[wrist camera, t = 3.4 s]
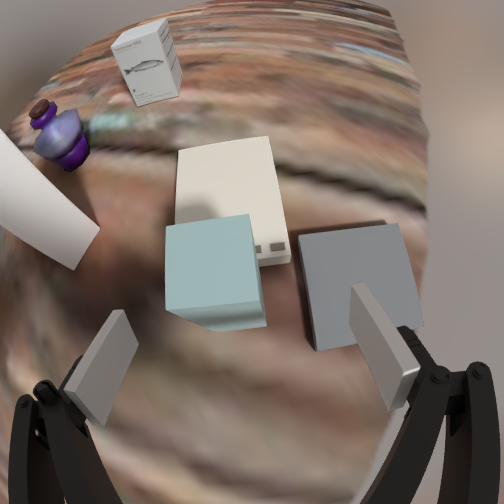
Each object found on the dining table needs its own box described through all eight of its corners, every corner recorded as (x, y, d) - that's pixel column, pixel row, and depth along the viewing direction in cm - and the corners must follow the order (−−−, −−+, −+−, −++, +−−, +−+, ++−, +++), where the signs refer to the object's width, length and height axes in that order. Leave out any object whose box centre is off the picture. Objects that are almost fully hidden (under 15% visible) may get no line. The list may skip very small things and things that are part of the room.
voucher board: (290, 262, 24) (291, 253, 22) (181, 276, 25) (173, 268, 23) (268, 148, 30) (267, 134, 28) (183, 161, 30) (178, 149, 28)
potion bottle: (105, 131, 35) (71, 76, 23) (89, 173, 31) (43, 115, 20) (66, 145, 35) (31, 98, 24) (50, 185, 32) (5, 139, 21)
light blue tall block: (266, 326, 22) (259, 300, 12) (214, 331, 23) (165, 309, 12) (260, 274, 24) (248, 212, 14) (210, 281, 24) (166, 224, 14)
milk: (77, 211, 29) (-30, 94, 9) (101, 229, 28) (-26, 91, 7) (51, 250, 27) (-70, 150, 7) (74, 272, 26) (-75, 163, 5)
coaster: (416, 327, 21) (424, 325, 19) (314, 351, 21) (317, 351, 20) (392, 229, 25) (397, 223, 23) (297, 242, 25) (298, 235, 24)
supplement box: (136, 108, 36) (107, 47, 24) (145, 85, 39) (122, 30, 27) (179, 97, 35) (157, 30, 24) (184, 75, 38) (166, 16, 27)
